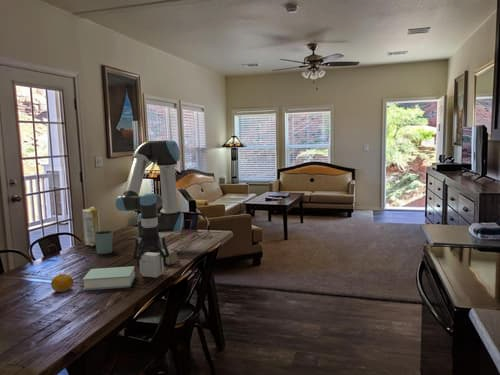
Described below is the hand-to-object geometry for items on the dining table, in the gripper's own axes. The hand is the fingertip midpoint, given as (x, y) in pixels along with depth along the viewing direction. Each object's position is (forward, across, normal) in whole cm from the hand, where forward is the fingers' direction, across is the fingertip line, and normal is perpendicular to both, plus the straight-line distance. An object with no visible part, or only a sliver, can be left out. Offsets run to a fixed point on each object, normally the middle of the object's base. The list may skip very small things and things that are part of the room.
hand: (152, 271), depth 186 cm
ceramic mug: (+2, +6, +18) cm, 19 cm away
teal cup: (+2, -33, +48) cm, 58 cm away
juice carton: (+2, -45, +68) cm, 82 cm away
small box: (+2, 0, 0) cm, 2 cm away
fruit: (+2, -37, -12) cm, 39 cm away
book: (+2, -18, -7) cm, 19 cm away
